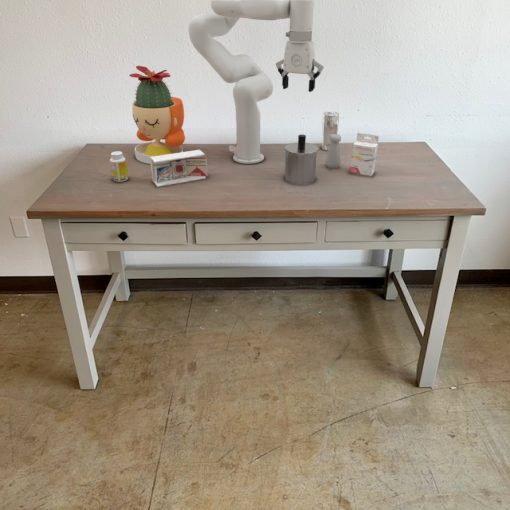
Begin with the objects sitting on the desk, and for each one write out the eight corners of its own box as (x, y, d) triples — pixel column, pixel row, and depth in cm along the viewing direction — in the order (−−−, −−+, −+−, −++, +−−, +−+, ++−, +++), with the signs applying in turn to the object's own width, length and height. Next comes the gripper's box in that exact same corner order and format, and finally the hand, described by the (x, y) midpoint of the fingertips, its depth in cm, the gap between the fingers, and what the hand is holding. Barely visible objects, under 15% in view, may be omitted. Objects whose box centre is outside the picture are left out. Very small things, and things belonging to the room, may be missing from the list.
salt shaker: (339, 170, 186) (342, 137, 179) (324, 169, 187) (327, 136, 180) (340, 165, 191) (343, 133, 184) (325, 164, 192) (328, 132, 185)
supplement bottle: (130, 176, 180) (126, 150, 175) (126, 182, 176) (122, 155, 170) (115, 176, 181) (111, 150, 175) (111, 182, 176) (106, 155, 170)
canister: (280, 181, 176) (281, 151, 170) (291, 172, 185) (293, 142, 179) (308, 187, 172) (310, 156, 166) (318, 176, 181) (321, 147, 175)
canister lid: (279, 153, 171) (279, 137, 168) (292, 143, 180) (292, 128, 177) (311, 158, 166) (312, 142, 163) (322, 148, 175) (323, 133, 172)
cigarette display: (156, 187, 172) (153, 161, 167) (152, 181, 177) (149, 156, 172) (209, 177, 180) (208, 153, 175) (204, 172, 184) (202, 149, 179)
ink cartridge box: (349, 173, 183) (353, 135, 176) (352, 169, 187) (356, 132, 179) (371, 177, 180) (376, 138, 172) (374, 173, 184) (379, 135, 176)
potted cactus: (166, 168, 188) (157, 74, 170) (124, 157, 198) (111, 67, 180) (199, 152, 204) (194, 64, 186) (159, 143, 214) (151, 59, 196)
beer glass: (337, 151, 205) (340, 115, 198) (321, 151, 205) (323, 115, 198) (335, 145, 211) (338, 111, 204) (319, 145, 211) (322, 111, 204)
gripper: (272, 36, 162) (271, 89, 171) (321, 39, 155) (317, 94, 164) (281, 34, 168) (280, 85, 176) (328, 37, 161) (324, 90, 170)
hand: (298, 89), depth 170 cm, fingers open, 9 cm apart
